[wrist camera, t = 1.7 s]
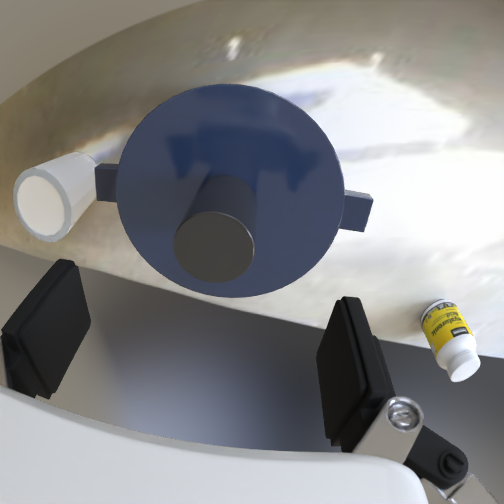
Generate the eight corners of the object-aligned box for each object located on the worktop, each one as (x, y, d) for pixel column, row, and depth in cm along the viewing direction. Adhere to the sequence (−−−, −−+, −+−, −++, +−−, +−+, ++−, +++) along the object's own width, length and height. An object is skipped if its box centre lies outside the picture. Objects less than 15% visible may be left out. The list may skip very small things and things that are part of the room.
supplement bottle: (452, 291, 33) (486, 347, 25) (456, 317, 35) (485, 371, 27) (416, 310, 35) (443, 370, 26) (422, 334, 37) (446, 392, 29)
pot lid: (124, 80, 15) (65, 88, 10) (361, 105, 16) (406, 121, 10) (130, 273, 22) (98, 332, 17) (313, 297, 23) (325, 363, 17)
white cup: (119, 179, 28) (85, 209, 22) (84, 221, 30) (50, 256, 24) (74, 131, 25) (31, 151, 19) (43, 178, 28) (3, 205, 22)
